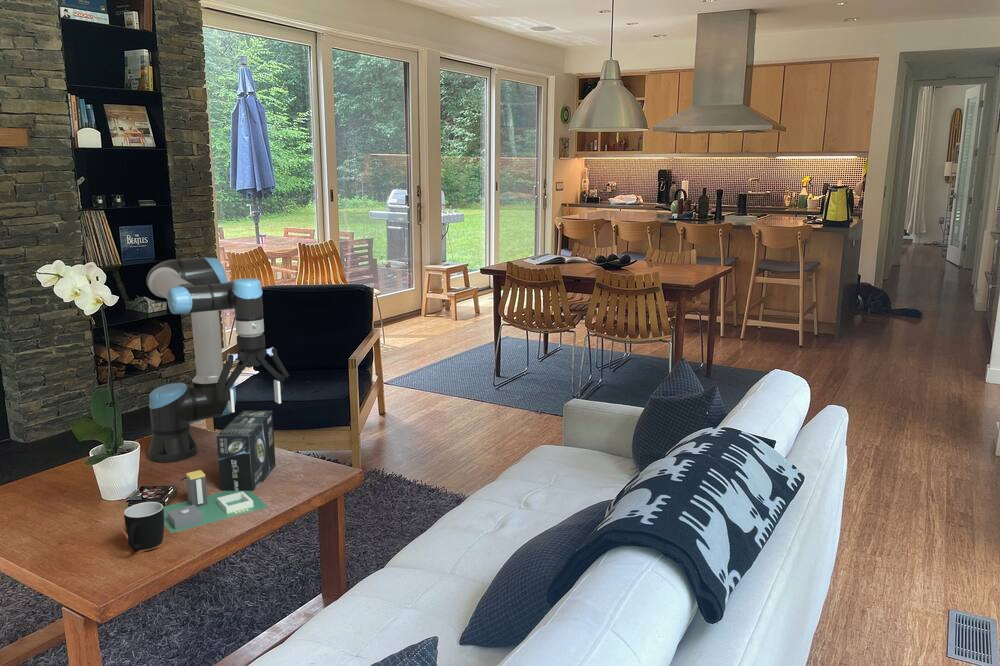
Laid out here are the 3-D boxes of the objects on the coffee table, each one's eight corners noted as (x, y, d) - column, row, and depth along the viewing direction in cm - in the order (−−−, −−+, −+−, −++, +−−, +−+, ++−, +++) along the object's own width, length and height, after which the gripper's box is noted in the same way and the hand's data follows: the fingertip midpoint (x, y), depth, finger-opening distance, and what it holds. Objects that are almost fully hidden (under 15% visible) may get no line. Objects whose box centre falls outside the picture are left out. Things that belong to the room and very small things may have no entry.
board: (153, 512, 211) (151, 498, 210) (245, 489, 227) (245, 476, 226) (171, 536, 197) (169, 522, 197) (268, 510, 213) (267, 496, 212)
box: (254, 495, 224) (249, 434, 220) (220, 495, 224) (215, 434, 220) (277, 466, 246) (273, 409, 242) (246, 465, 246) (242, 409, 242)
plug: (188, 503, 215) (185, 473, 213) (203, 499, 217) (200, 469, 216) (193, 508, 211) (190, 478, 210) (208, 505, 214) (205, 475, 212)
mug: (139, 537, 197) (135, 501, 195) (173, 538, 196) (169, 502, 194) (113, 561, 185) (109, 522, 183) (150, 562, 185) (146, 523, 183)
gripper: (209, 342, 203) (215, 418, 208) (298, 330, 219) (301, 401, 223) (200, 337, 209) (206, 411, 213) (287, 326, 224) (291, 395, 229)
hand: (255, 406), depth 218 cm, fingers open, 13 cm apart
